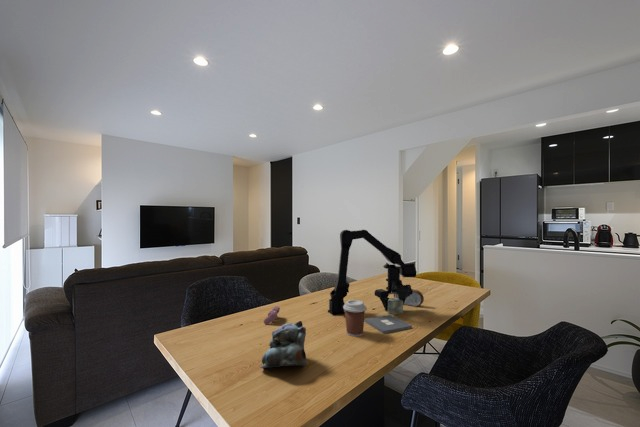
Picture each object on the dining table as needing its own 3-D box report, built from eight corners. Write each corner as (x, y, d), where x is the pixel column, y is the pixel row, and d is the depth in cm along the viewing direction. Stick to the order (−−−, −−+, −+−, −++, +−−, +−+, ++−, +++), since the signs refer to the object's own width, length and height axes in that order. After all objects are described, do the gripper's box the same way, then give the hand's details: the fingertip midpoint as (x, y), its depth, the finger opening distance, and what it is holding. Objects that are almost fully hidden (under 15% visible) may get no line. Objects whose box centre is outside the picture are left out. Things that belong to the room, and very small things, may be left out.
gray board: (383, 333, 107) (383, 330, 107) (364, 321, 120) (364, 318, 120) (411, 328, 113) (411, 325, 113) (390, 317, 125) (390, 314, 125)
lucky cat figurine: (251, 368, 82) (258, 319, 89) (280, 369, 90) (284, 324, 97) (287, 369, 73) (291, 314, 80) (315, 370, 81) (317, 320, 88)
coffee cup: (366, 338, 102) (366, 306, 103) (341, 336, 104) (341, 305, 104) (367, 329, 111) (366, 299, 111) (344, 327, 113) (344, 298, 113)
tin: (423, 306, 141) (423, 290, 141) (422, 308, 138) (422, 291, 138) (394, 302, 149) (394, 286, 149) (393, 303, 146) (393, 287, 146)
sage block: (392, 315, 128) (392, 302, 129) (385, 311, 134) (384, 298, 134) (403, 313, 131) (402, 300, 131) (394, 309, 136) (394, 297, 136)
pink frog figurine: (271, 328, 116) (279, 313, 116) (262, 323, 116) (269, 308, 116) (276, 320, 126) (282, 306, 126) (267, 315, 126) (274, 301, 126)
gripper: (388, 282, 122) (388, 318, 121) (420, 279, 129) (421, 312, 129) (373, 277, 132) (374, 310, 132) (404, 274, 139) (404, 305, 139)
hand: (393, 309), depth 132 cm, fingers open, 8 cm apart
